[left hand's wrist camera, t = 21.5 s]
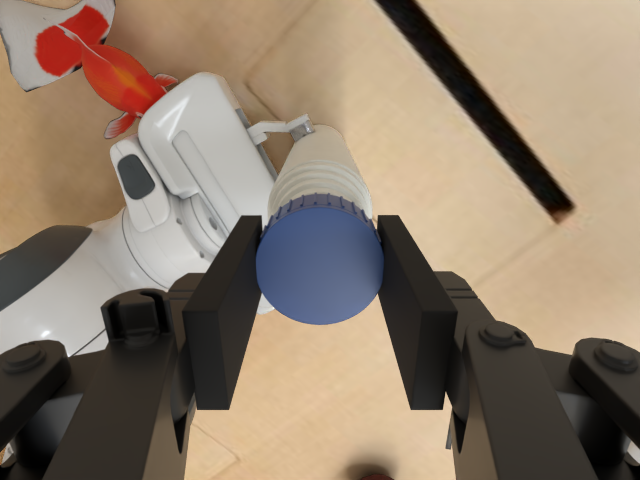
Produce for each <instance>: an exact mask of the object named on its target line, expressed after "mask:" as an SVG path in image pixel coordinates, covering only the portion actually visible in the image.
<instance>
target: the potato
mask: <svg viewBox="0 0 640 480" xmlns="http://www.w3.org/2000/svg"><path fill="white" fill-rule="evenodd" d="M361 480H394V479H392V478H390V477H388V476H386V475H382V474H373V475H371V476H367V477H364V478H362V479H361Z"/></svg>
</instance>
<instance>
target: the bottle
mask: <svg viewBox="0 0 640 480" xmlns="http://www.w3.org/2000/svg"><path fill="white" fill-rule="evenodd" d="M313 126H314V128H315V131H314V132H312V133H310V134H308V135H303V137H302V138H301V139H299V140H297V141H295V143H294V145H293V147H292V149H291V151H290V153H289V155H288V157H287V159H286V161H285V163H284V165H283V167H282V169H281V171H280V174H279V176H278V178H277V180H276V182H275V184H274V186H273V188H272V190H271V193H270V196H269V200H268V208H267V209H268V221H269V219H270V216H271V215H274V214H275V213H276V212H277V211H278V209H279V207H280V206H281V207H282V206H284V205H285V204H287V203H288V202H289V200H290V199H292V200H294V199H296V198H299V197H301V196H302V195H303V194H304V196H306V195H311V194H315V193H316V192H317V194H328V193H330V195H334V196H338V197H340V196H343V198H344V199H346V200H348V201H350V202H352V201H353V202H354V203H355V205H356V206H358V207H359V208H360V209H361V210H362V209H363V210H364V211H365V214H366V215H367V217H368V218H369V219H370V218H371V219H372V201H371V196H370V193H369V190H368V188H367V186H366V184H365V182H364V180H363V178H362V176H361V174H360V172H359V170H358V168H357V166H356V163H355V161H354V159H353V157H352V155H351V153H350V151H349V149H348V147H347V145H346V143H345V141H344V139H343V137H342V136H341V134H340V133H339V132H338V131H337V130H336V129H334V128H332V127H330V126H327V125H322V124H318V125H313Z"/></svg>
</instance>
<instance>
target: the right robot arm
mask: <svg viewBox="0 0 640 480" xmlns="http://www.w3.org/2000/svg"><path fill="white" fill-rule="evenodd" d="M314 131H315V128H314V126H313V124H312V122H311V120H310V119H309V116H308V114H307V113H305V114H303V115H301V116H299V117H297V118H296V119H294V120H292V121H290V122H288V123H287V121H269V120H263V121H261V122H259V123H257V124H255V125H253V126H251V125H250V123H249V121H248V119H247V118H246V116H245V114H244V112H243V110H242V108H241V107H240V105H239V103H238V101H237V99H236V98H235V96H234V94H233V92H232V90H231V89H230V87H229V85H228V83H227V81H226V80H225V78H224V77H222V76H220V75H217V74H214V73H211V72H199V73H196V74H194V75H193V76H191V77H189V78H187V79H186V80H184V81H183V82H182V83H180V84H179V85H177V86H176V87H174V88H173V89H172V90H170V91H169V92H168V93H167V94H165V95H164V96H163V97H162V98H160V99H159V100H158V101H157V102H156V103H155V104H153V105H152V106H151V107H150V108H149V109H148V110H147V111H146V112H145V114H144V115H143V117H142V118H141V120H140V122H139V126H138V133H135V134H132V135H130V136H128V137H125V138H123V139H122V140H120V141H118V142H117V143H115V144H114V145H113V146H112V147H111V148H110V157H111V160H112V163H113V166H114V169H115V171H116V174H117V177H118V180H119V182H120V185H121V188H122V191H123V194H124V197H125V201H126V204H127V205H126V206H124V207H123V208H122V209H121V210H120V212H119V213H118V214H117V215H116V216H114V217H112V218H110V219H107V220H101V221H97V222H94V223H92V224H90V225H88V226H86V227H83V226H67V225H56V226H52V227H49V228H47V229H45V230H43V231H41V232H39V233H37V234H35V235H34V236H32V237H31V238H29V239H28V240H26V241H25V242H23V243H22V244H21V245H19V246H18V247H16V248H14V249H11V250H9V251H7V252H5V253H3V254H0V354H2V353H4V352H5V351H7V350H10V349H12V348H14V347H16V346H18V345H20V344H23V343H28V342H31V341H38V340H48V339H49V340H55V341H59V342H61V343H62V344H63V345H65V349H66V352H67V355H68V357H70V356H75V355H80V354H85V353H90V352H96V351H100V350H103V349H105V348H106V346H107V344H108V342H109V341H108V337H107V333H106V329H105V325H104V321H103V317H102V313H101V309H100V307H101V306H102V305H103V304H104V303H105V302H106V301H107V300H109V299H110V298H112V297H114V296H116V295H118V294H121V293H124V292H127V291H130V290H135V289H141V288H155V289H160V290H163V291H165V292H168V290H169V288H170V287H171V286H172V285H173V283H174V282H175V281H176V280H177V279H179V278H181V277H182V276H184V275H185V274H187V273H206V271H207V270H208V268H209V266H210V265H211V263H212V262H213V260H214V258H215V257H216V255H217V254H218V252H219V250H220V249H221V247H222V246H223V244H224V242H225V241H226V239H227V238H228V236H229V234H230V233H231V231H232V230H233V228H234V226H235V225H236V223H237V222H238V220H239V218H240V217H241V215H262V228H263V229H264V226H265V225H267V224H268V209H267V208H268V200H269V196H270V193H271V190H272V188H273V186H274V184H275V182H276V180H277V178H278V176H279V175H278V173H277V172H276V170H275V168H274V166H273V164H272V163H271V161H270V159H269V157H268V155H267V154H266V152H265V150H264V148H263V146H262V145H261V142H263V141H265V140H267V139H268V138H269V137H270V135H271V134H270V133H269V132H290V134H291V135H292V137H293V139H294V141H297V140H299V139H301V138H302V137H303V135H308V134H310V133H312V132H314ZM274 309H275V308H274V307H273V306H272V305H271V304H270V303H269V302H268V301H267V299H266V298H265V297H264V295H263V293H262V295H261V299H260V302H259V306H258V309H257V314H265V313H268V312H270V311H272V310H274ZM195 410H196V400H195V394H193V396H192V399H191V401H190V404H189V406H188V412H189V418H190V425H191V423H192V420H193V417H194V414H195ZM12 453H13V451H12V448H11V446H10V443H8V444H7V446H6V449H5V453H4V457H3V460H2V463H4V462H5V461H6V460H7V459H8V458H9V457H10V456H11V454H12Z"/></svg>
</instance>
